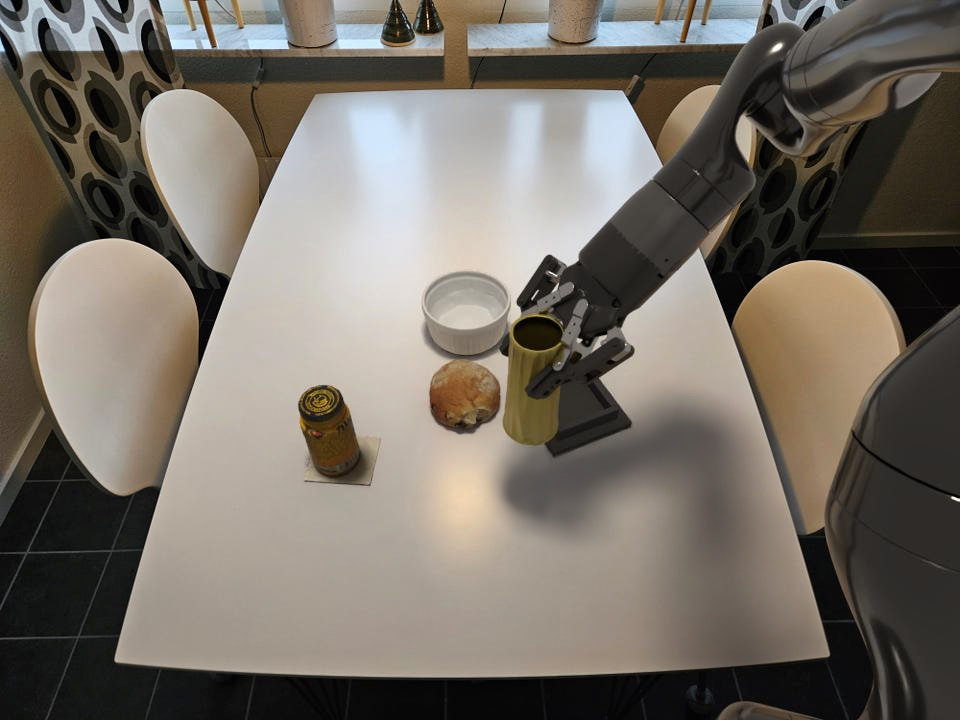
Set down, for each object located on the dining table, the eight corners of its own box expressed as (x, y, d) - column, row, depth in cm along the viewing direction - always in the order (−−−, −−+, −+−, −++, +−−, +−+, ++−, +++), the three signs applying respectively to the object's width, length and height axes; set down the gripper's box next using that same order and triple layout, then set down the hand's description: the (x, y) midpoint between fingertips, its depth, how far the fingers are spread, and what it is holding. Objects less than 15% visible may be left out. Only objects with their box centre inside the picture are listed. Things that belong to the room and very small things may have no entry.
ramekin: (414, 312, 103) (410, 279, 97) (492, 294, 105) (493, 260, 100) (438, 371, 94) (435, 338, 89) (522, 349, 97) (524, 316, 92)
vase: (570, 425, 70) (584, 333, 60) (530, 457, 68) (537, 366, 57) (530, 393, 74) (537, 300, 63) (490, 422, 71) (491, 330, 60)
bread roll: (504, 409, 94) (512, 359, 91) (485, 442, 85) (494, 388, 82) (440, 393, 96) (446, 344, 93) (415, 424, 87) (420, 370, 84)
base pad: (631, 426, 87) (635, 413, 85) (553, 457, 84) (555, 444, 82) (586, 366, 95) (588, 352, 93) (512, 392, 91) (513, 378, 89)
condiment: (318, 434, 87) (299, 376, 78) (381, 438, 86) (368, 380, 77) (304, 481, 82) (282, 424, 73) (370, 486, 81) (356, 429, 72)
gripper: (579, 185, 59) (463, 316, 65) (671, 278, 51) (527, 421, 56) (620, 218, 65) (509, 337, 70) (709, 308, 56) (574, 436, 62)
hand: (518, 374), depth 63 cm, fingers closed on vase, 5 cm apart
